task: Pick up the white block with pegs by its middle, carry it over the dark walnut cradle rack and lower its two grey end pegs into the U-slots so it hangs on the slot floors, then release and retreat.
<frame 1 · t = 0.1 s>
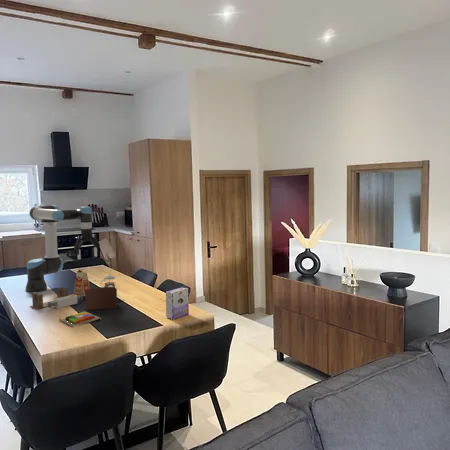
hand: (87, 257, 306), 28 cm above the table, fingers open, 13 cm apart
white block with pegs: (66, 305, 286), on the table
candy box: (177, 316, 259), on the table
milk carton: (82, 294, 314), on the table
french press: (108, 296, 307), on the table
letter holder: (101, 307, 281), on the table
wooden puzzle: (80, 321, 253), on the table
cradle rack: (50, 304, 288), on the table
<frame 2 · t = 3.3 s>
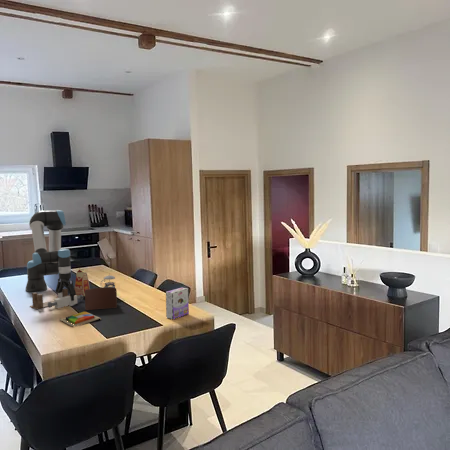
hand: (66, 304, 286), 1 cm above the table, fingers open, 13 cm apart
nothing on the table moved.
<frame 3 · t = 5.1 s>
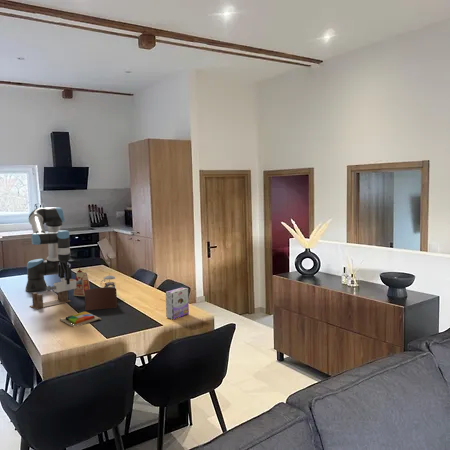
hand: (65, 288, 285), 11 cm above the table, fingers closed on white block with pegs, 5 cm apart
white block with pegs: (65, 289, 285), point 10 cm above the table, touching gripper
everything else where it was.
when the fingers open (2 cm above the table, at t = 8.4 s): white block with pegs stays where it is, resting on cradle rack.
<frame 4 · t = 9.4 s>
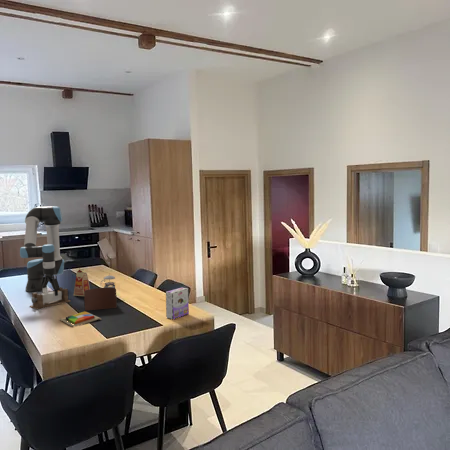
hand: (50, 298, 288), 4 cm above the table, fingers open, 13 cm apart
white block with pegs: (50, 301, 288), point 2 cm above the table, touching cradle rack
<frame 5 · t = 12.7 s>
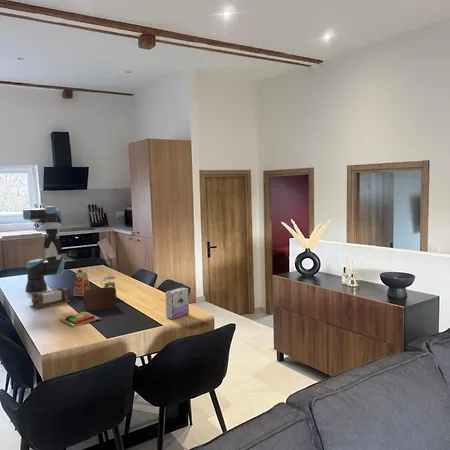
hand: (53, 258, 301), 29 cm above the table, fingers open, 13 cm apart
at the end: white block with pegs 0.3 cm off-centre on the cradle rack, point 2.2 cm above the cradle rack's base; white block with pegs tilted 0°; the gripper is holding nothing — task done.
